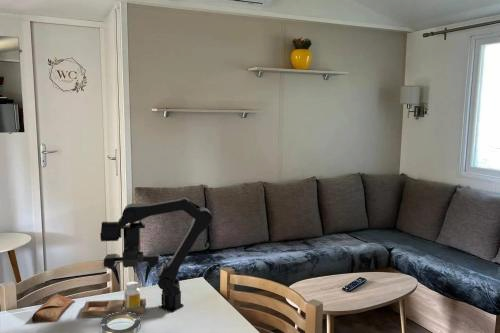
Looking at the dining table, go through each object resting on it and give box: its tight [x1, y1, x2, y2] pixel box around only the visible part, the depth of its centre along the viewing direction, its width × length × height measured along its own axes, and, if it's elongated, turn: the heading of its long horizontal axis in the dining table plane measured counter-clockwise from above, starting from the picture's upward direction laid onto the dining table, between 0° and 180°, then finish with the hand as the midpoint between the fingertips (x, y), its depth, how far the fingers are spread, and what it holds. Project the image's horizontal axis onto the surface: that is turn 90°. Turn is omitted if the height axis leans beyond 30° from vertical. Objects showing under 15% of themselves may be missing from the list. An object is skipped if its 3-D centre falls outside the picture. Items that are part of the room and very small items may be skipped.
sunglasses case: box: [31, 292, 76, 323], centre depth 155 cm, size 18×7×7 cm, turn 2°
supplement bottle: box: [123, 281, 141, 309], centre depth 157 cm, size 5×5×10 cm
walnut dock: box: [80, 298, 147, 318], centre depth 156 cm, size 21×9×2 cm, turn 100°
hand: (132, 282), depth 156 cm, fingers open, 9 cm apart
